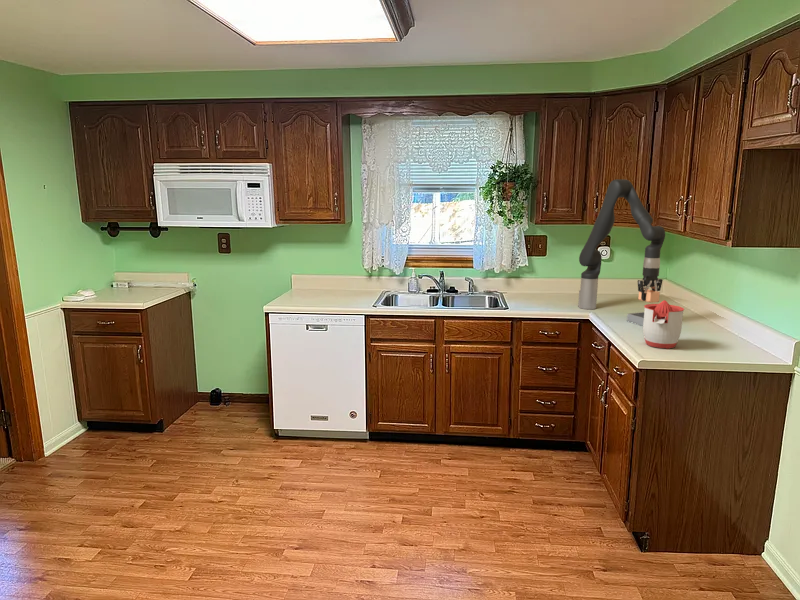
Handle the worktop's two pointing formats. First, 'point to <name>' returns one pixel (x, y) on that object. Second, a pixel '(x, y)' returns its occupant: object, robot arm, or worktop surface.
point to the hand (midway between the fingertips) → (648, 299)
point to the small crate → (650, 296)
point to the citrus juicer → (662, 324)
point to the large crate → (636, 318)
